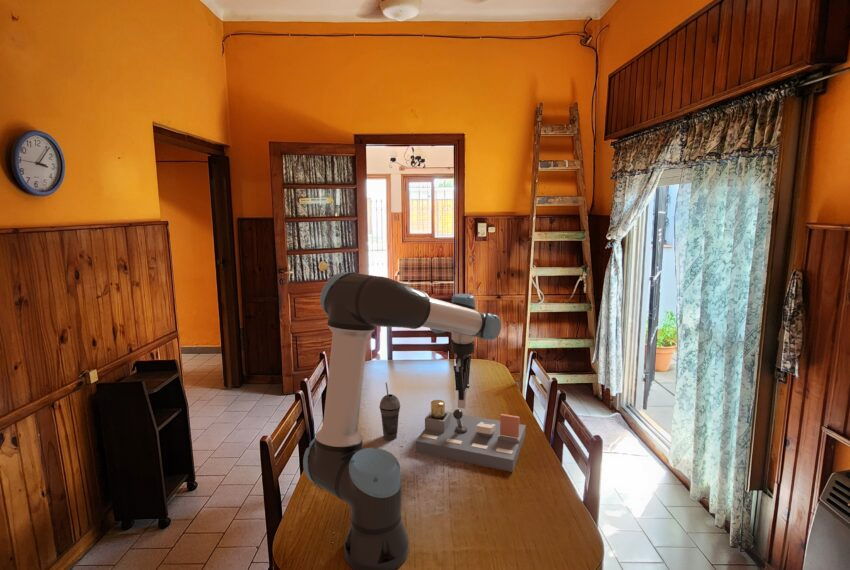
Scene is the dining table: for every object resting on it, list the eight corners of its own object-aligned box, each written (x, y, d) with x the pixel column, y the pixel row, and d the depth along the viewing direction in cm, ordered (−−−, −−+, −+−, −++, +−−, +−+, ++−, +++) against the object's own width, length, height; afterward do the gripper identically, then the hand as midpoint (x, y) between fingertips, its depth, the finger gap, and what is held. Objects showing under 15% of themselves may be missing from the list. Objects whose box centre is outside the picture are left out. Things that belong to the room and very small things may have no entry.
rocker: (490, 434, 152) (491, 427, 152) (475, 431, 154) (476, 425, 154) (495, 430, 158) (495, 423, 159) (480, 427, 160) (481, 421, 160)
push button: (442, 423, 159) (442, 406, 158) (428, 420, 161) (429, 404, 159) (446, 417, 163) (446, 401, 162) (433, 414, 165) (433, 398, 164)
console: (512, 472, 142) (513, 447, 141) (415, 452, 153) (415, 429, 152) (525, 435, 164) (526, 414, 163) (439, 420, 175) (439, 400, 174)
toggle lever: (464, 431, 157) (460, 416, 152) (455, 429, 158) (451, 414, 153) (466, 423, 159) (463, 408, 154) (457, 421, 160) (453, 406, 155)
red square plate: (518, 438, 152) (519, 418, 151) (500, 434, 154) (500, 415, 153) (518, 436, 153) (519, 416, 152) (500, 433, 155) (501, 413, 154)
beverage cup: (397, 443, 159) (397, 387, 155) (377, 441, 160) (376, 386, 157) (402, 433, 166) (402, 379, 162) (383, 431, 167) (382, 378, 164)
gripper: (468, 347, 147) (467, 417, 151) (479, 336, 159) (477, 401, 163) (445, 345, 149) (445, 413, 154) (458, 334, 161) (457, 398, 166)
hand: (462, 407), depth 158 cm, fingers closed
